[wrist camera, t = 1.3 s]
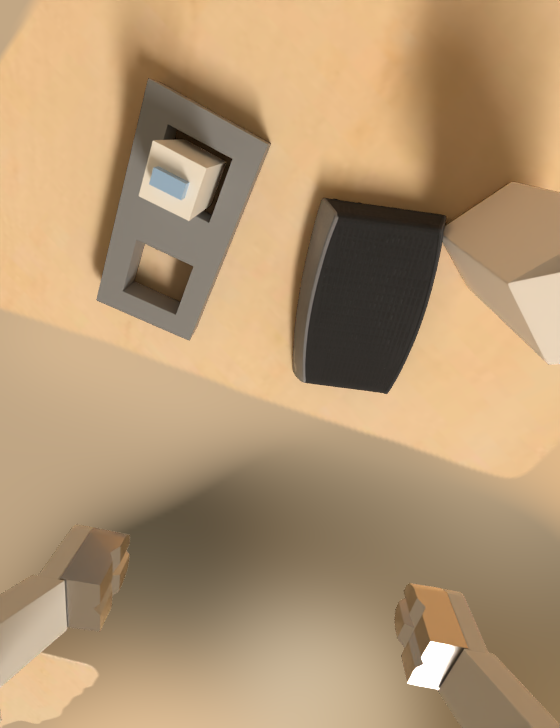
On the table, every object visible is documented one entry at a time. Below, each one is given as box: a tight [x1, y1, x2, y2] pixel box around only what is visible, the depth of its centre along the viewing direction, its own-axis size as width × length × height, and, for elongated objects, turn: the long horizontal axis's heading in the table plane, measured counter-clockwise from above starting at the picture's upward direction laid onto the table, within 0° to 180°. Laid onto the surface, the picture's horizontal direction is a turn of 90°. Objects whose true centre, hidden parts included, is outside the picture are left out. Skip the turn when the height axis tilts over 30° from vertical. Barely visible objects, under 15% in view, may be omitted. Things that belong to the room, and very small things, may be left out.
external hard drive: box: [293, 198, 446, 394], centre depth 39 cm, size 13×19×4 cm
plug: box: [139, 139, 226, 221], centre depth 31 cm, size 4×4×9 cm
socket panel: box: [97, 78, 271, 340], centre depth 36 cm, size 20×10×3 cm, turn 154°
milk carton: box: [442, 182, 560, 364], centre depth 28 cm, size 7×7×19 cm
